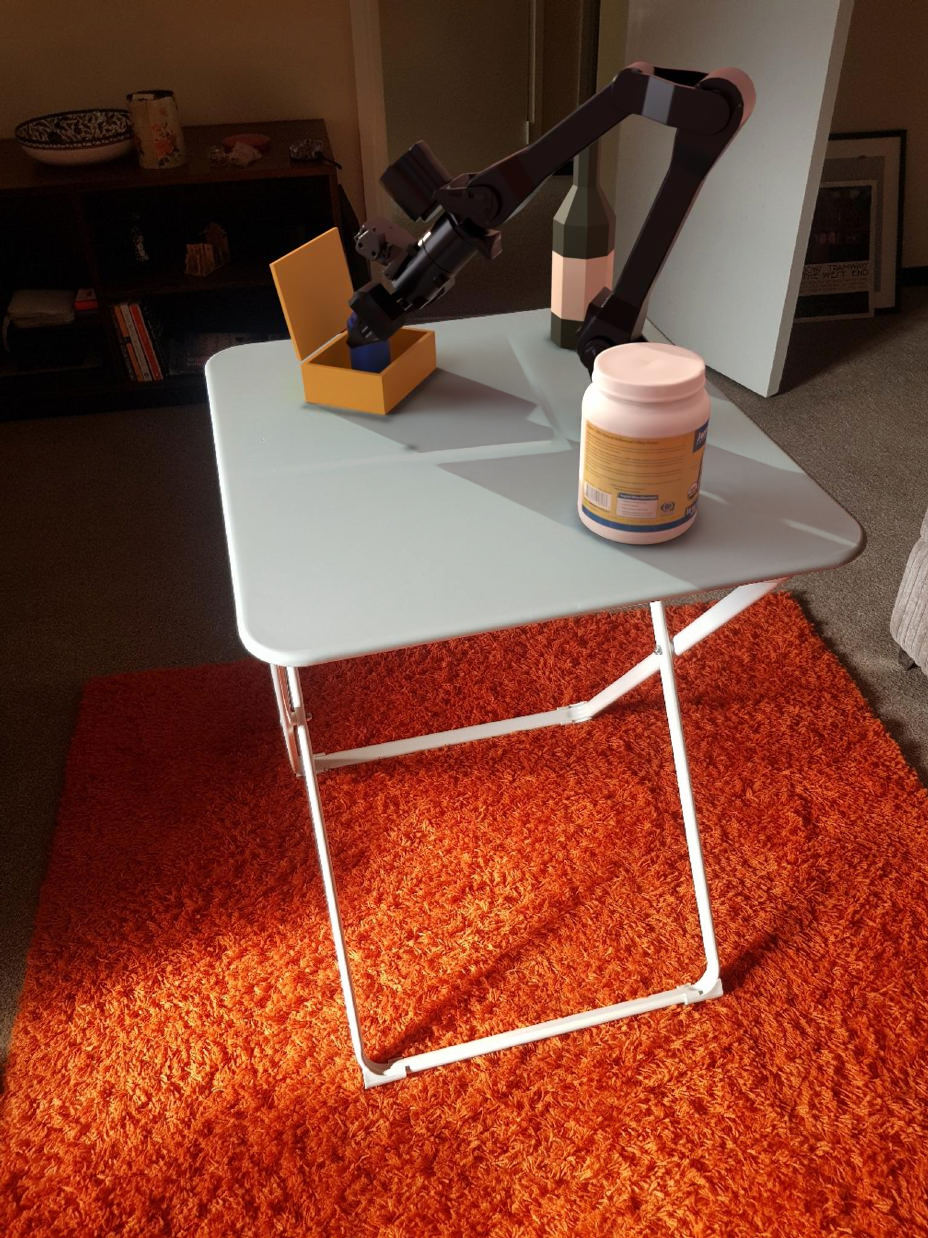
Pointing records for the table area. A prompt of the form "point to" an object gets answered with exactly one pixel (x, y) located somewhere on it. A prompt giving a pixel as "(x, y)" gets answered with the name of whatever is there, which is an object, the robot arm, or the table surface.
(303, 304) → the lunchbox lid
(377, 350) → the bottle
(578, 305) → the wine bottle
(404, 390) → the box
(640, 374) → the supplement tub
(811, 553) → the table surface
